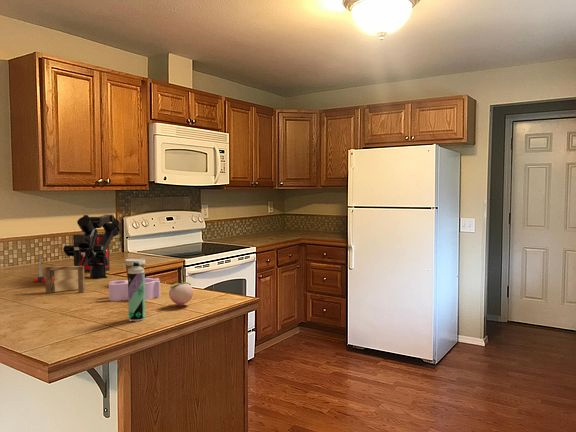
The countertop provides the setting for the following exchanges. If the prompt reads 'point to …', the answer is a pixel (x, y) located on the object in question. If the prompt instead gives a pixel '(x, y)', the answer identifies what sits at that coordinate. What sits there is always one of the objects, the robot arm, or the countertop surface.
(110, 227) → the robot arm
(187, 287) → the decorative fruit
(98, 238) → the cleaning product box
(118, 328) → the countertop surface
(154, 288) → the clip
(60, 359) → the countertop surface
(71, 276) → the door
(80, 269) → the frame
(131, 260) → the disposable coffee cup
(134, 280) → the spray can
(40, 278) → the tow hook
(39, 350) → the countertop surface
